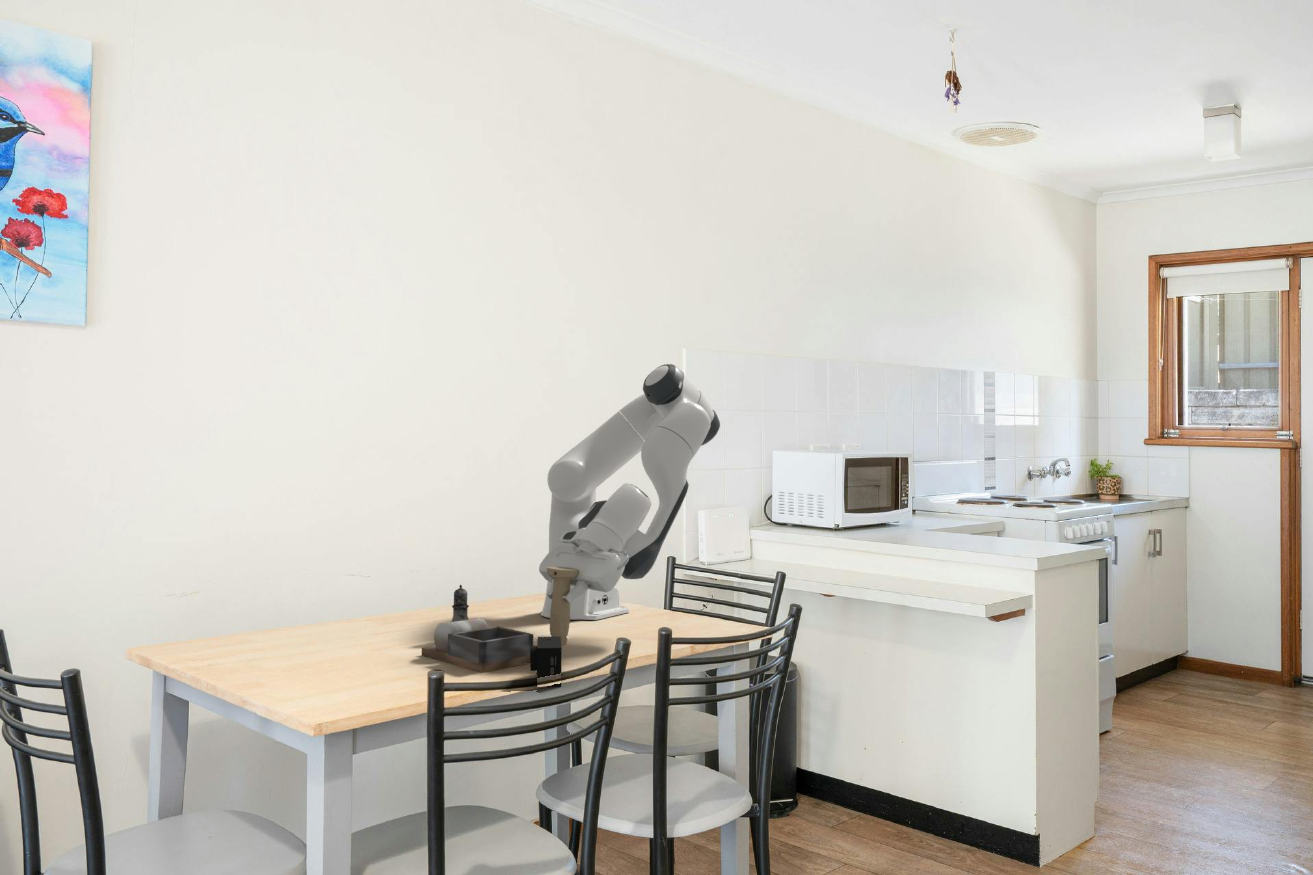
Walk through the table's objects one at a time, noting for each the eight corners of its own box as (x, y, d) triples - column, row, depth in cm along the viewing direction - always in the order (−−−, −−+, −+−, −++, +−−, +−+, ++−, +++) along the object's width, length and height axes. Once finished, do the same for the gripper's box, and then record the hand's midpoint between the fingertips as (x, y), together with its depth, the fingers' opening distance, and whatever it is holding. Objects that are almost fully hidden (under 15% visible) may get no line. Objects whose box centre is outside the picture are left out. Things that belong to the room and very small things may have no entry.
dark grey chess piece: (440, 640, 216) (441, 584, 216) (462, 636, 221) (463, 581, 221) (456, 644, 212) (457, 587, 212) (479, 640, 217) (480, 584, 217)
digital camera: (530, 673, 187) (531, 635, 187) (560, 673, 188) (560, 635, 188) (529, 687, 177) (530, 647, 177) (561, 687, 178) (561, 647, 178)
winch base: (471, 646, 210) (472, 614, 210) (532, 662, 196) (533, 627, 196) (421, 655, 202) (422, 621, 202) (481, 672, 188) (482, 635, 188)
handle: (564, 648, 198) (568, 570, 198) (537, 643, 201) (542, 567, 201) (578, 645, 202) (583, 569, 202) (552, 640, 205) (557, 565, 205)
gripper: (640, 563, 202) (601, 617, 195) (573, 552, 217) (534, 602, 210) (625, 542, 199) (585, 595, 192) (557, 532, 213) (518, 581, 206)
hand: (558, 599), depth 201 cm, fingers closed on handle, 3 cm apart
